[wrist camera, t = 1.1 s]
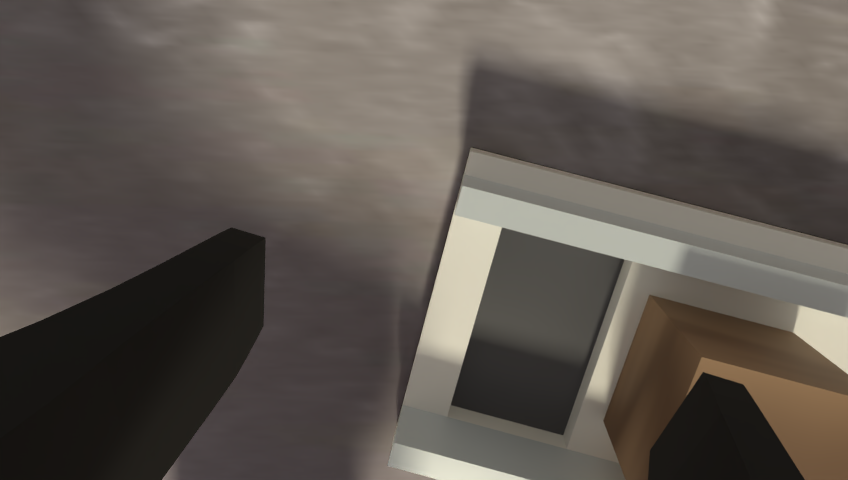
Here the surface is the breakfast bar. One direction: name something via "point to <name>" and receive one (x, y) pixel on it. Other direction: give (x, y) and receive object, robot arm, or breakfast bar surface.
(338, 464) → the breakfast bar surface
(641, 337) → the walnut block
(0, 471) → the robot arm
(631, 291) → the trap channel
